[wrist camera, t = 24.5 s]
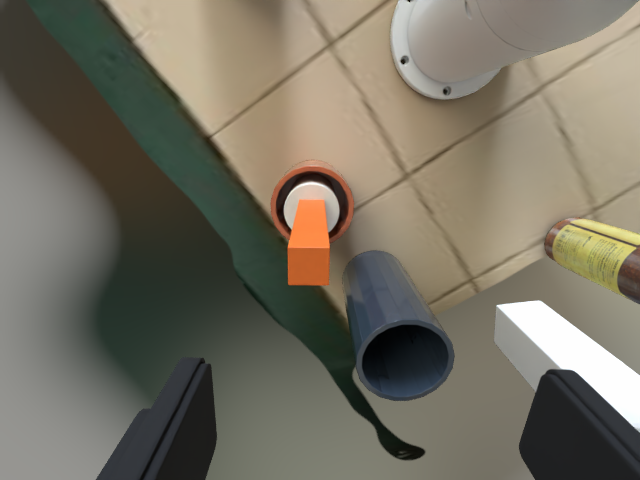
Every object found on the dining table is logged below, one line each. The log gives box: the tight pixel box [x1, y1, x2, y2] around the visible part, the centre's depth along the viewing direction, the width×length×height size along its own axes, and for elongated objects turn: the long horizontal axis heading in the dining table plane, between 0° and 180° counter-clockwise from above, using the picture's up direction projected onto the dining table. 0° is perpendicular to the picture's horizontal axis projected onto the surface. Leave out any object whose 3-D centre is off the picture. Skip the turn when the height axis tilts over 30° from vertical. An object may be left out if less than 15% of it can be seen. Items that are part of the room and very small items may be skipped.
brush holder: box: [271, 160, 354, 244], centre depth 36 cm, size 8×8×7 cm
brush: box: [284, 174, 339, 285], centre depth 29 cm, size 5×5×20 cm
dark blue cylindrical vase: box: [342, 251, 454, 401], centre depth 35 cm, size 8×8×16 cm
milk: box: [494, 300, 640, 432], centre depth 35 cm, size 6×6×22 cm
